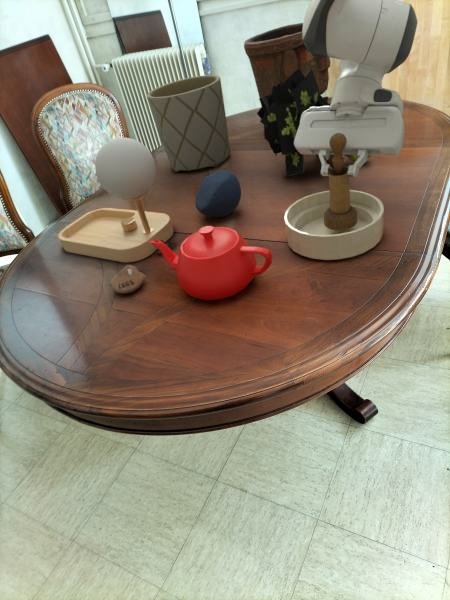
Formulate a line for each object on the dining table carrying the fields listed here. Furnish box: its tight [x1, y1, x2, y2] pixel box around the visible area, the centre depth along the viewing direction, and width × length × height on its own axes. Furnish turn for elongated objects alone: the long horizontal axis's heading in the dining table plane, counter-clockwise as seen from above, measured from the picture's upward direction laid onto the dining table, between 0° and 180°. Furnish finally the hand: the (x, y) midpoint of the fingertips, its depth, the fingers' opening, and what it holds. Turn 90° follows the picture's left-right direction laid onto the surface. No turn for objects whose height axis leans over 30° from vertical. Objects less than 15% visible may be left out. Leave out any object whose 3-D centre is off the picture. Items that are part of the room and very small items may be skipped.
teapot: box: [149, 225, 273, 301], centre depth 79 cm, size 25×16×12 cm, turn 69°
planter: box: [146, 74, 231, 173], centre depth 133 cm, size 23×23×24 cm
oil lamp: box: [108, 264, 147, 294], centre depth 87 cm, size 9×4×8 cm
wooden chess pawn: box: [324, 133, 357, 230], centre depth 80 cm, size 7×6×18 cm
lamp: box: [57, 136, 175, 263], centre depth 98 cm, size 33×17×25 cm, turn 59°
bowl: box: [283, 189, 385, 261], centre depth 85 cm, size 19×19×6 cm
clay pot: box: [243, 22, 331, 107], centre depth 136 cm, size 25×29×30 cm
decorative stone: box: [195, 169, 242, 218], centre depth 103 cm, size 12×12×10 cm
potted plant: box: [256, 69, 371, 178], centre depth 110 cm, size 21×22×30 cm
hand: (338, 175), depth 79 cm, fingers closed on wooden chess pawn, 4 cm apart
